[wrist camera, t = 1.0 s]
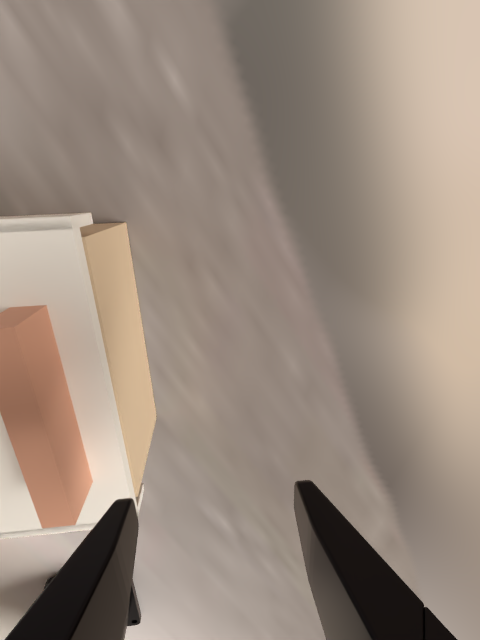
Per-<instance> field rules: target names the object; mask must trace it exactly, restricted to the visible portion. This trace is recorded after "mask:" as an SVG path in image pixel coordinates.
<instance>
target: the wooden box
mask: <svg viewBox="0 0 480 640" xmlns="http://www.w3.org/2000/svg"><path fill="white" fill-rule="evenodd" d="M80 232H81V237H82V242H83V247H84V251H85V256H86V261H87V266H88V271H89V276H90V280H91V285H92V290H93V295H94V300H95V305H96V309H97V314H98V319H99V324H100V329H101V333H102V338H103V343H104V348H105V353H106V358H107V362H108V367H109V372H110V377H111V382H112V387H113V391H114V396H115V401H116V406H117V411H118V416H119V420H120V425H121V430H122V435H123V440H124V444H125V449H126V454H127V459H128V464H129V469H130V473H131V478H132V483H133V488H134V493H135V497H138V493H139V489H140V485H141V481H142V476H143V472H144V468H145V464H146V460H147V455H148V451H149V447H150V443H151V439H152V434H153V430H154V426H155V422H156V417H157V416H156V409H155V403H154V396H153V390H152V384H151V377H150V371H149V365H148V358H147V352H146V346H145V339H144V333H143V326H142V320H141V314H140V307H139V301H138V295H137V288H136V282H135V276H134V269H133V263H132V257H131V250H130V244H129V237H128V231H127V225H126V222H125V223H104V224H91V225H87V226H83V227H80Z"/></svg>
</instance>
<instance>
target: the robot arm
mask: <svg viewBox="0 0 480 640" xmlns="http://www.w3.org/2000/svg"><path fill="white" fill-rule="evenodd" d="M294 510H295V516H296V521H297V526H298V531H299V536H300V541H301V546H302V551H303V556H304V561H305V566H306V571H307V575H308V580H309V583H310V587H311V591H312V594H313V597H314V601H315V604H316V607H317V611H318V614H319V617H320V620H321V624H322V627H323V630H324V633H325V637H326V640H457V639H456V638H455V637H454V636H453V635H452V634H451V633H450V631H448V629H447V628H446V627H444V625H443V624H442V623H441V622H440V621H439V620H438V619H437V618H436V616H435V615H434V614H433V613H432V612H431V611H430V610H429V609H428V608H427V607H424V604H423V602H422V601H421V600H420V599H419V598H418V597H417V596H416V595H415V594H414V592H413V591H412V590H411V589H410V588H409V587H408V586H407V585H406V584H405V583H404V582H403V580H402V579H401V578H400V577H399V576H398V575H397V574H396V573H395V572H394V571H393V570H392V568H391V567H390V566H389V565H388V564H387V563H386V562H385V561H384V560H383V559H382V557H381V556H380V555H379V554H378V553H377V552H376V551H375V550H374V549H373V548H372V547H371V545H370V544H369V543H368V542H367V541H366V540H365V539H364V538H363V537H362V536H361V535H360V533H359V532H358V531H357V530H356V529H355V528H354V527H353V526H352V525H351V524H350V522H349V521H348V520H347V519H346V518H345V517H344V516H343V515H342V514H341V513H340V512H339V510H338V509H337V508H336V507H335V506H334V505H333V504H332V503H331V502H330V501H329V500H328V498H327V497H326V496H325V495H324V494H323V493H322V492H321V491H320V490H319V489H318V487H317V486H316V485H315V484H314V483H313V482H312V481H310V480H303V481H297V482H295V486H294ZM137 537H138V517H137V512H136V508H135V503H134V500H133V499H132V498H124V499H117V500H116V501H114V503H113V504H112V505H111V506H110V508H109V509H108V510H107V511H106V513H105V514H104V515H103V516H102V518H101V519H100V520H99V521H98V523H97V524H96V525H95V526H94V528H93V529H92V530H91V531H90V533H89V534H88V535H87V537H86V538H85V539H84V540H83V542H82V543H81V544H80V545H79V547H78V548H77V549H76V550H75V552H74V553H73V554H72V555H71V557H70V558H69V559H68V560H67V562H66V563H65V564H64V565H63V567H62V568H61V569H60V571H59V572H58V573H57V574H56V576H55V577H54V578H50V579H48V580H47V582H46V584H45V587H44V588H45V589H44V591H43V592H42V593H41V594H40V596H39V597H38V598H37V600H36V601H35V602H34V603H33V605H32V606H31V607H30V608H29V610H28V611H27V612H26V613H25V615H24V616H23V617H22V618H21V620H20V621H19V622H18V623H17V625H16V626H15V627H14V629H13V630H12V631H11V632H10V634H9V635H8V636H7V637H6V639H5V640H124V638H125V633H126V628H127V626H132V625H138V624H139V623H140V621H141V612H140V608H139V604H138V600H137V595H136V591H135V587H134V583H133V579H132V578H133V569H134V561H135V553H136V545H137Z"/></svg>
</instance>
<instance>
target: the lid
mask: <svg viewBox="0 0 480 640" xmlns="http://www.w3.org/2000/svg"><path fill="white" fill-rule="evenodd" d="M91 224H93V220H92V215H91V213H72V214H50V215H27V216H5V217H0V539H9V538H18V537H28V536H37V535H47V534H56V533H66V532H75V531H85V530H92V529H93V528H94V526H95V525H96V524H97V523H98V521H99V520H100V519H101V518H102V516H103V515H104V514H105V513H106V511H107V510H108V509H109V508H110V506H111V505H112V504H113V503H114V501H116V500H117V499H124V498H132V499H133V500H134V503H135V508H136V512H137V517H138V515H139V510H140V506H141V501H142V497H143V492H144V486H143V483H142V484H141V485H140V489H139V493H138V497H135V493H134V488H133V483H132V478H131V473H130V469H129V464H128V459H127V454H126V449H125V444H124V440H123V435H122V430H121V425H120V420H119V416H118V411H117V406H116V401H115V396H114V391H113V387H112V382H111V377H110V372H109V367H108V362H107V358H106V353H105V348H104V343H103V338H102V333H101V329H100V324H99V319H98V314H97V309H96V305H95V300H94V295H93V290H92V285H91V280H90V276H89V271H88V266H87V261H86V256H85V251H84V247H83V242H82V237H81V232H80V227H83V226H87V225H91Z"/></svg>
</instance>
